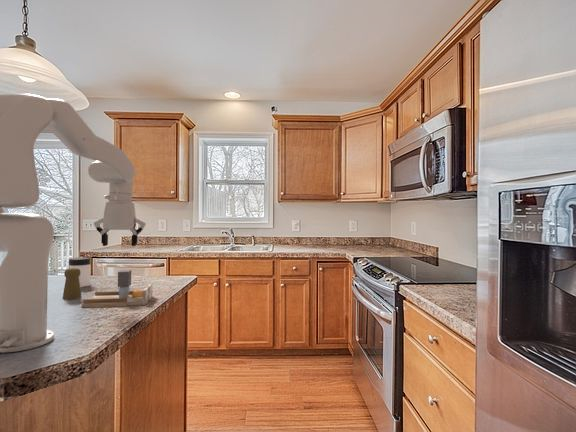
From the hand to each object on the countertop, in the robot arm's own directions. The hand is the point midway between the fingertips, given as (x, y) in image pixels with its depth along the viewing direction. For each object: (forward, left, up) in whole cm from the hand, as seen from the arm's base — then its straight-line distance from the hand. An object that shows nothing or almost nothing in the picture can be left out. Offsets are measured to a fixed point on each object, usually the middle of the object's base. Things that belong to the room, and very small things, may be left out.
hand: (119, 245), depth 121 cm
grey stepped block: (0, -2, -19) cm, 19 cm away
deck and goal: (0, -1, -20) cm, 20 cm away
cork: (+8, +19, -21) cm, 29 cm away
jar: (+30, +25, -21) cm, 44 cm away
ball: (0, -6, -18) cm, 19 cm away
